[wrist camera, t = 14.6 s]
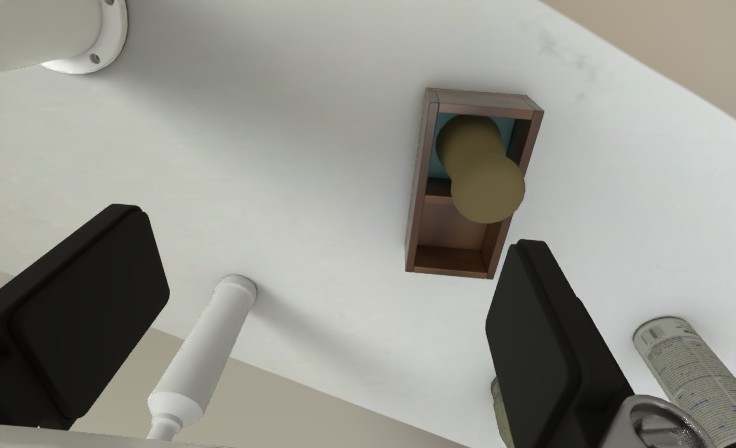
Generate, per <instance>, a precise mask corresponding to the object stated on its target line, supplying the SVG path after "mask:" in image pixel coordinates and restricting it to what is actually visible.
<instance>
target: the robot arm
mask: <svg viewBox="0 0 736 448" xmlns="http://www.w3.org/2000/svg"><path fill="white" fill-rule="evenodd" d="M127 27H128V25H127V9H126V4H125V0H0V72H4V71H8V70H13V69H18V68H22V67H27V66H31V65H36V64H40V65H42V66H44V67H46V68H49V69H51V70H54V71H57V72H61V73H67V74H86V73H90V72H94V71H97V70H100V69H102V68H104V67H106V66H108V65H109V64H110V63H111V62H113V61H114V60H115V59H116V57H117V56H118V55H119V53H120V52H121V50H122V47H123V45H124V42H125V40H126V33H127ZM169 296H170V290H169V286H168V283H167V279H166V276H165V272H164V269H163V265H162V262H161V258H160V255H159V252H158V248H157V245H156V241H155V238H154V234H153V231H152V227H151V224H150V221H149V217H148V215H147V214H146V213H145V212H142V210H141V208H140V207H138V206H136V205H124V204H111V205H109V206H108V207H107V208H105V209H104V210H103V211H101V212H100V213H99V214H97V215H96V216H95V217H93V218H92V219H91V220H89V221H88V222H87V223H86V224H84V225H83V226H82V227H80V228H79V229H78V230H76V231H75V232H74V233H72V234H71V235H70V236H68V237H67V238H66V239H65V240H63V241H62V242H61V243H59V244H58V245H57V246H55V247H54V248H53V249H51V250H50V251H49V252H47V253H46V254H45V255H44V256H42V257H41V258H40V259H38V260H37V261H36V262H34V263H33V264H32V265H30V266H29V267H28V268H26V269H25V270H24V271H23V272H21V273H20V274H19V275H17V276H16V277H15V278H13V279H12V280H11V281H9V282H8V283H7V284H5V285H4V286H3V287H2V288H0V448H233V447H224V446H214V445H204V444H195V443H184V442H175V441H165V440H156V439H146V438H135V437H124V436H114V435H105V434H94V433H85V432H74V431H68V430H69V429H70V427H71V426H72V425H73V424H74V422H75V421H76V420H77V418H81V417H83V416H84V415H85V414H86V413H87V412H88V411H89V409H90V408H91V406H92V405H93V404H94V402H95V401H96V400H97V398H98V397H99V396H100V394H101V393H102V392H103V390H104V389H105V387H106V386H107V385H108V383H109V382H110V381H111V379H112V378H113V376H114V375H115V373H116V372H117V371H118V370H119V368H120V367H121V365H122V364H123V363H124V361H125V360H126V358H127V357H128V356H129V354H130V353H131V352H132V350H133V349H134V348H135V346H136V345H137V343H138V342H139V341H140V339H141V338H142V337H143V335H144V334H145V333H146V331H147V330H148V328H149V327H150V326H151V324H152V323H153V322H154V320H155V319H156V317H157V316H158V315H159V313H160V312H161V311H162V309H163V308H164V306H165V305H166V304H167V302H168V299H169ZM485 329H486V335H487V339H488V343H489V347H490V351H491V355H492V359H493V363H494V367H495V371H496V375H497V379H498V383H499V388H500V392H501V396H502V400H503V404H504V408H505V412H506V416H507V420H508V424H509V428H510V432H511V436H512V440H513V444H514V448H717V447H716V445H715V443H714V441H713V439H712V438H711V437H710V435H709V434H708V433H707V432H706V430H705V429H704V428H703V427H702V426H701V425H700V424H699V423H698V422H697V421H696V420H695V419H694V418H693V417H691V416H690V415H689V414H687V413H686V412H685V411H683V410H682V409H680V408H679V407H677V406H676V405H674V404H671V403H669V402H667V401H665V400H663V399H661V398H657V397H653V396H650V395H635V393H634V391H633V390H632V388H631V386H630V384H629V383H628V381H627V379H626V378H625V376H624V374H623V372H622V371H621V369H620V367H619V365H618V364H617V362H616V360H615V358H614V357H613V355H612V353H611V351H610V350H609V348H608V346H607V345H606V343H605V341H604V339H603V338H602V336H601V334H600V332H599V331H598V329H597V327H596V325H595V324H594V322H593V320H592V319H591V317H590V315H589V313H588V312H587V310H586V308H585V306H584V305H583V303H582V302H581V300H580V299H579V298H578V297H576V295H575V293H574V291H573V290H572V288H571V286H570V284H569V283H568V281H567V279H566V277H565V275H564V274H563V272H562V270H561V268H560V267H559V265H558V263H557V261H556V260H555V258H554V256H553V254H552V253H551V251H550V249H549V247H548V246H547V244H546V243H545V242H544V241H537V240H525V239H520V240H519V241H518V242H517V244H511V245H510V247H509V249H508V252H507V255H506V258H505V262H504V265H503V268H502V271H501V274H500V277H499V281H498V284H497V287H496V290H495V293H494V296H493V300H492V303H491V306H490V309H489V312H488V315H487V319H486V326H485ZM38 426H39V427H40V428H37V427H38Z"/></svg>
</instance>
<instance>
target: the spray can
mask: <svg viewBox="0 0 736 448" xmlns="http://www.w3.org/2000/svg"><path fill="white" fill-rule="evenodd" d="M633 341H634V345H635V347H636V349H637V351H638V353H639V354H640V356H641V357H642V359H643V360H644V362H645V363H646V365H647V366H648V368H649V369H650V371H651V372H652V374H653V376H654V377H655V379H656V380H657V382H658V383H659V385H660V386H661V388H662V389H663V391H664V392H665V394H666V396H667V397H668V399H669V400H670V402H671V403H672V404H674V405H676V406H677V407H679V408H680V409H682V410H683V411H685V412H686V413H687V414H689V415H690V416H691V417H693V418H694V419H695V420H696V421H697V422H698V423H699V424H700V425H701V426H702V427H703V428H704V429H705V430H706V432H707V433H708V434H709V435H710V437H711V438H712V439H713V441H714V443H715V445H716V447H717V448H736V378H735V377H734V376H733V375H732V373H731V372H730V371H729V370H728V369H727V368H726V366H725V365H724V364H723V363H722V362H721V361H720V359H719V358H718V357H717V356H716V355H715V354H714V352H713V351H712V350H711V349H710V348H709V347H708V345H707V344H706V343H705V342H704V341H703V340H702V338H701V337H700V336H699V335H698V334H697V332H696V331H695V330H694V329H693V328H692V327H691V326H690V325H689V324H688V323H687V322H686V321H684V320H681V319H679V318H673V317H665V318H661V319H657V320H653V321H651V322H648V323H646V324H644V325H643V326H641V327H640V329H639V330H638V331H637V332H636V334H635V336H634V340H633Z"/></svg>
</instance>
